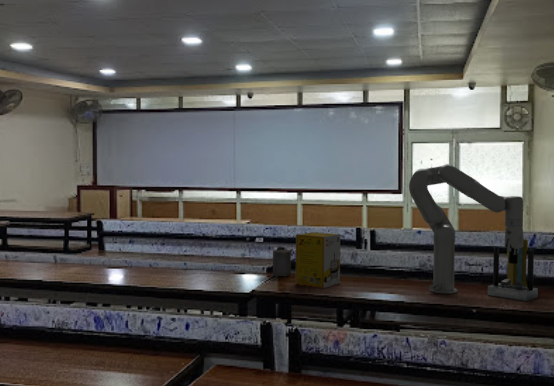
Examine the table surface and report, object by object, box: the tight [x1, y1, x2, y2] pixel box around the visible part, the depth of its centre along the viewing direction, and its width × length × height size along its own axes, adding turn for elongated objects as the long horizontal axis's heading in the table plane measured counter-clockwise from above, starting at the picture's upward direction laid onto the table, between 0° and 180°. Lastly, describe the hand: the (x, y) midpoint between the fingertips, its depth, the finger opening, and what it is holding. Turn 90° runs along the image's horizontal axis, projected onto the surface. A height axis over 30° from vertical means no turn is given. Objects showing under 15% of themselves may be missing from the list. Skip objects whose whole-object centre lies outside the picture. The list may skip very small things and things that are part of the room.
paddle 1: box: [500, 278, 511, 286], centre depth 272 cm, size 4×2×2 cm, turn 134°
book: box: [506, 238, 529, 287], centre depth 286 cm, size 17×7×25 cm, turn 168°
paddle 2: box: [515, 282, 524, 286], centre depth 268 cm, size 4×2×2 cm, turn 134°
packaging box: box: [295, 231, 341, 289], centre depth 296 cm, size 16×16×25 cm
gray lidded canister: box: [272, 249, 292, 277], centre depth 319 cm, size 10×10×15 cm
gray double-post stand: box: [487, 245, 539, 302], centre depth 270 cm, size 12×18×22 cm, turn 44°
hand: (513, 263), depth 270 cm, fingers closed
